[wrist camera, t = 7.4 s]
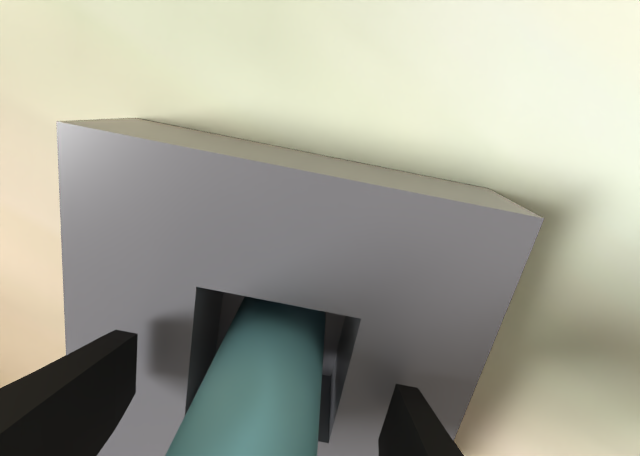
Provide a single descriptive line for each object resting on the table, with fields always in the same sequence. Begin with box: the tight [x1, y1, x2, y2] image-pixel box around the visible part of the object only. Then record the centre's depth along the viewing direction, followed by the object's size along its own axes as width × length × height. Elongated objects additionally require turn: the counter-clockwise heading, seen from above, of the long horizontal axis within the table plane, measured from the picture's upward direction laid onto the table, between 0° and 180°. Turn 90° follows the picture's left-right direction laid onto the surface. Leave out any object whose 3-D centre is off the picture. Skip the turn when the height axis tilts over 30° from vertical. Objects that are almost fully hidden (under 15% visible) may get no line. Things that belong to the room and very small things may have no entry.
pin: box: [165, 296, 326, 456], centre depth 10 cm, size 3×3×8 cm
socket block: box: [57, 118, 544, 456], centre depth 12 cm, size 12×12×4 cm
